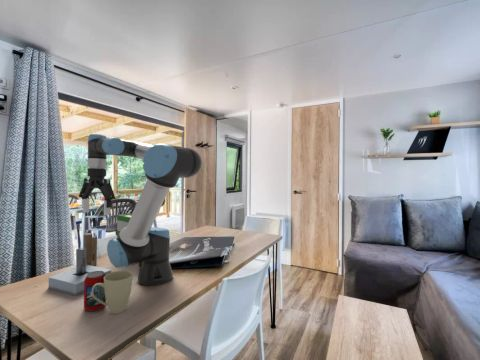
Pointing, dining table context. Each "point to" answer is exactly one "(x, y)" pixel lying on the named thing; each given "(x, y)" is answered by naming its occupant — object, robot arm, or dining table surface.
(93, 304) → the beverage can
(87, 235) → the wooden block
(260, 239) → the dining table surface
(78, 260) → the pin
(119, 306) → the mug
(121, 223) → the hardback book
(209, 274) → the dining table surface
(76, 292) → the bore block
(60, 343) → the dining table surface
